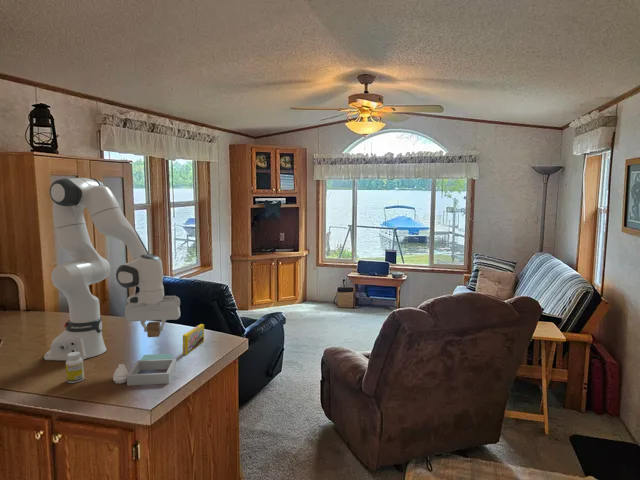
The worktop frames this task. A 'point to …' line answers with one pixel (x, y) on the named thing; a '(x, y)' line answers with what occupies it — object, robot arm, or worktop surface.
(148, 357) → the teal tile
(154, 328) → the walnut block
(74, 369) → the supplement bottle
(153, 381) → the grey bin
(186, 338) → the candy box
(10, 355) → the worktop surface
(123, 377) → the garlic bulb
